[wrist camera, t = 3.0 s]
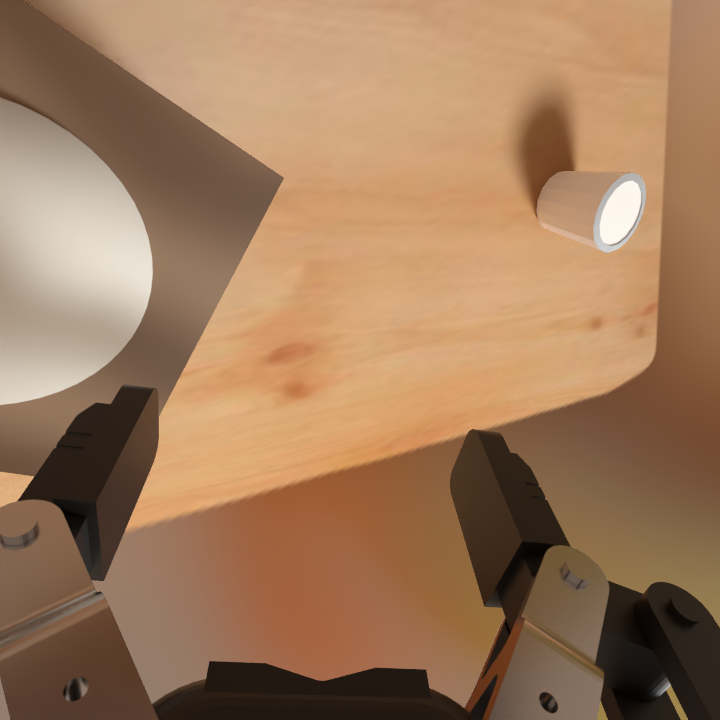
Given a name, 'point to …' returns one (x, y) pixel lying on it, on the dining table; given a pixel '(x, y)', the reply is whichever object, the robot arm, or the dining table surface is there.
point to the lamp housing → (103, 232)
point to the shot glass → (592, 206)
